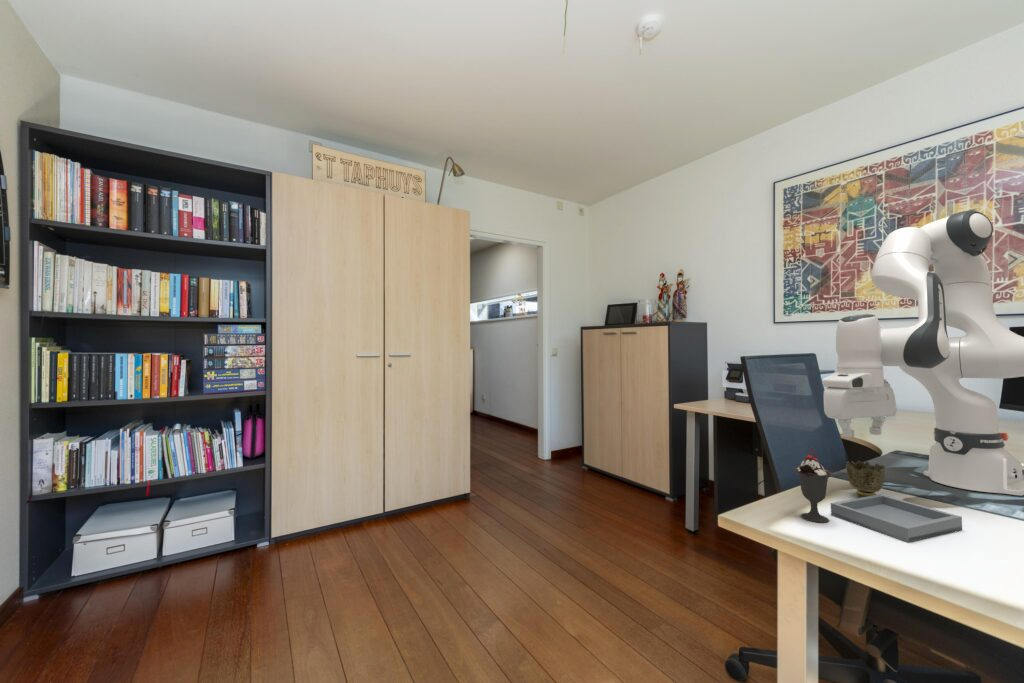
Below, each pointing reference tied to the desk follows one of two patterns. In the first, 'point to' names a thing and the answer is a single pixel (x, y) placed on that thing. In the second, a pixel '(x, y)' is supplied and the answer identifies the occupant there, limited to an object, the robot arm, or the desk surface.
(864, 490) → the cup
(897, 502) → the tray
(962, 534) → the desk surface
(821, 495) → the sundae
